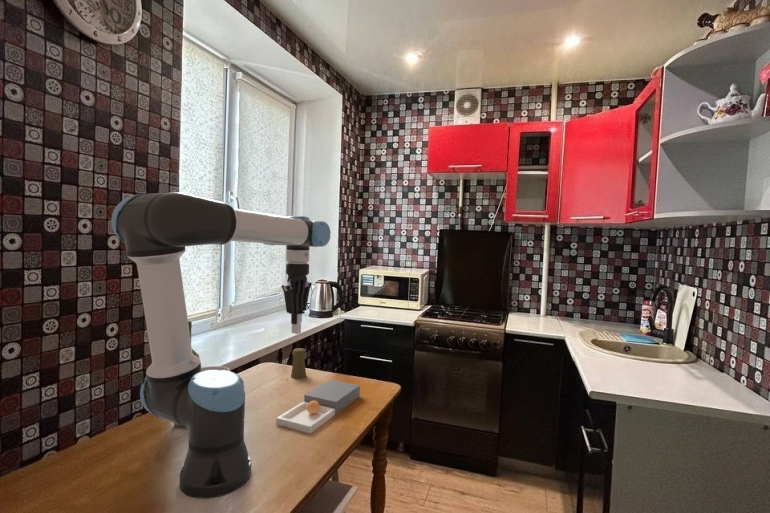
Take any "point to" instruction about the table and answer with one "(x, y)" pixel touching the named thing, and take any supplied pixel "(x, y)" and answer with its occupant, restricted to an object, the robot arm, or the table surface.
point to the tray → (305, 418)
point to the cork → (298, 363)
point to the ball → (313, 407)
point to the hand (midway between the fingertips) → (296, 333)
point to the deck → (334, 394)
